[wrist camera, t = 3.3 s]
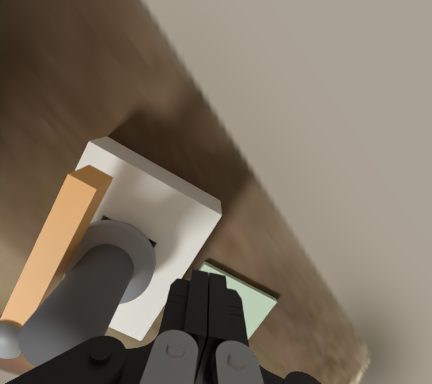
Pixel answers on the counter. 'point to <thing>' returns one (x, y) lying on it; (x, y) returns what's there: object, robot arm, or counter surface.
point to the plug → (90, 290)
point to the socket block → (151, 222)
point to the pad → (247, 298)
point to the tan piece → (53, 251)
